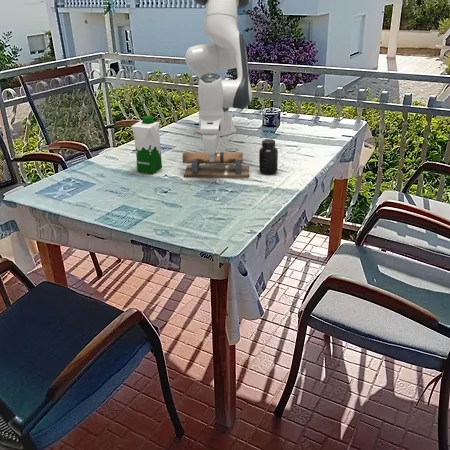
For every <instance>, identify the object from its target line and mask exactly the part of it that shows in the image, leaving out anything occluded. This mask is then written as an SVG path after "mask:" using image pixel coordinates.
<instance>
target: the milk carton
mask: <svg viewBox="0 0 450 450" xmlns="http://www.w3.org/2000/svg"><path fill="white" fill-rule="evenodd" d="M130 126H131V130H132V134H133V138H134V146H135V147H134V148H135V156H136V157H135V158H136V171H137V173H138V174H139V173H142V174H148V175H154V174H156V173H157V172H158V171H161V169H162V168H163V163H162V162H163V161H162V151H161V149H162V148H161V137H160V121H155V120H154V116H153V115H143V116H142V117H141V120H140V121H138V122H136V123H134V124H133V125H130Z"/></svg>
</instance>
